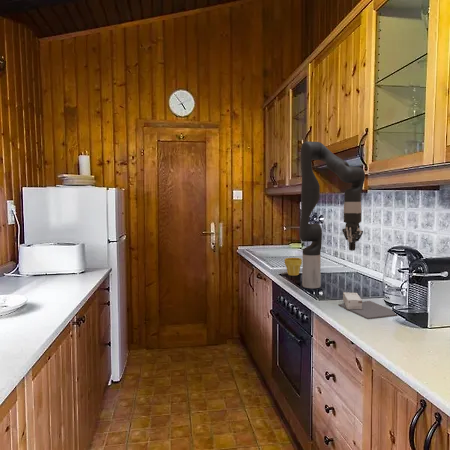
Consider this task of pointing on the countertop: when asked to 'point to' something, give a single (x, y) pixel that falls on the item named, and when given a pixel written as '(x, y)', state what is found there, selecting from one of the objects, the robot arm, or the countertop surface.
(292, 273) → the plant pot
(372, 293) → the countertop surface
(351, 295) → the skincare box
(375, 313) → the mat
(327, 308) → the countertop surface
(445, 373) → the countertop surface
